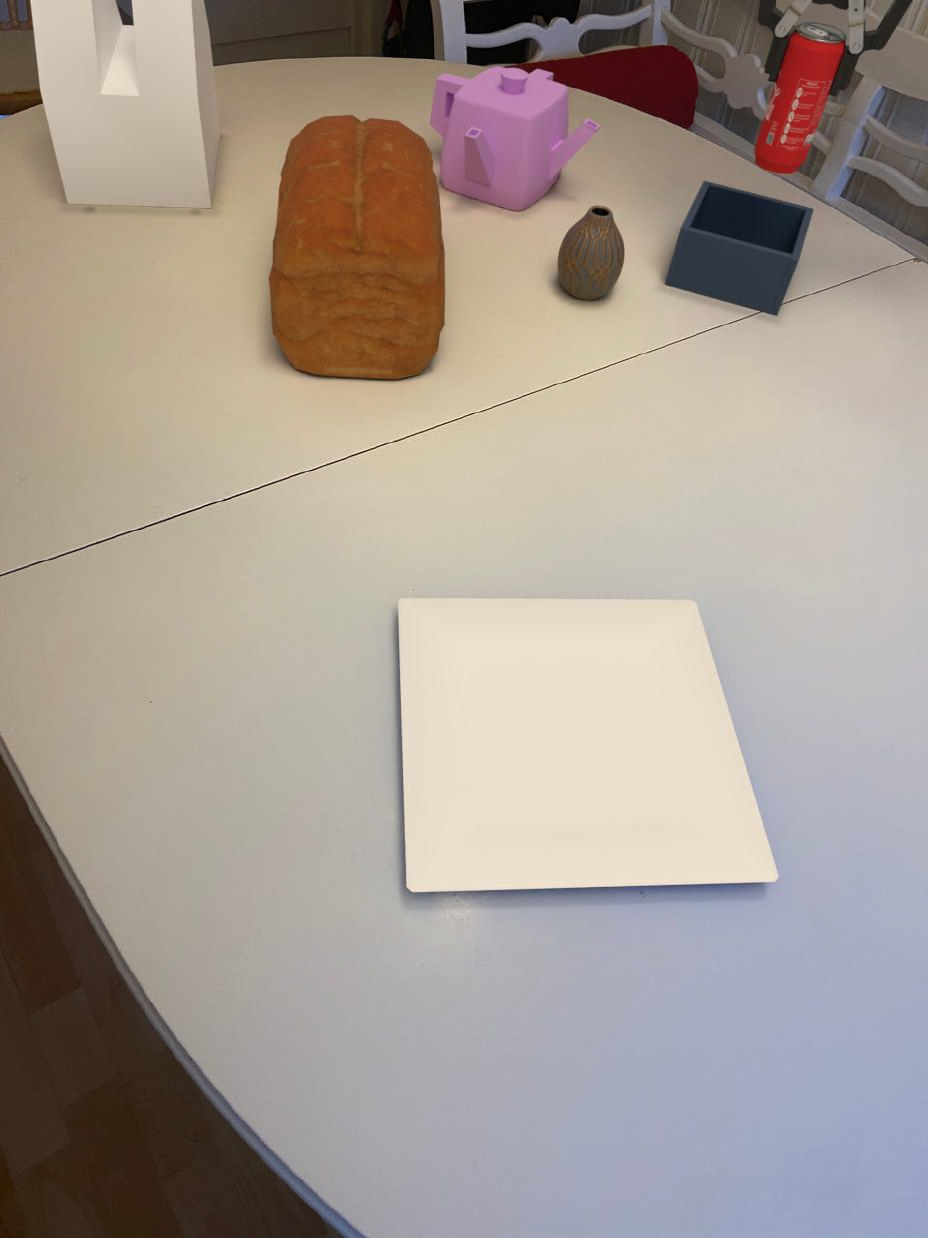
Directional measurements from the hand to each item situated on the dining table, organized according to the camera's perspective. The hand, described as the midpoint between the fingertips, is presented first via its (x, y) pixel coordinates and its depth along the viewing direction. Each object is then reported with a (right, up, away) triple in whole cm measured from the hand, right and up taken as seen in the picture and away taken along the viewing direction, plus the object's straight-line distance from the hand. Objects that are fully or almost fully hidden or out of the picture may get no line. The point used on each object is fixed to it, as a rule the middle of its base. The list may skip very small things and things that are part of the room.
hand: (802, 85), depth 88 cm
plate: (-25, -59, -25) cm, 69 cm away
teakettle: (-27, +3, +27) cm, 38 cm away
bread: (-43, -18, +7) cm, 47 cm away
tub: (-2, -11, +17) cm, 21 cm away
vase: (-19, -15, +12) cm, 27 cm away
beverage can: (-1, -5, +6) cm, 8 cm away
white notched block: (-69, +3, +21) cm, 73 cm away
